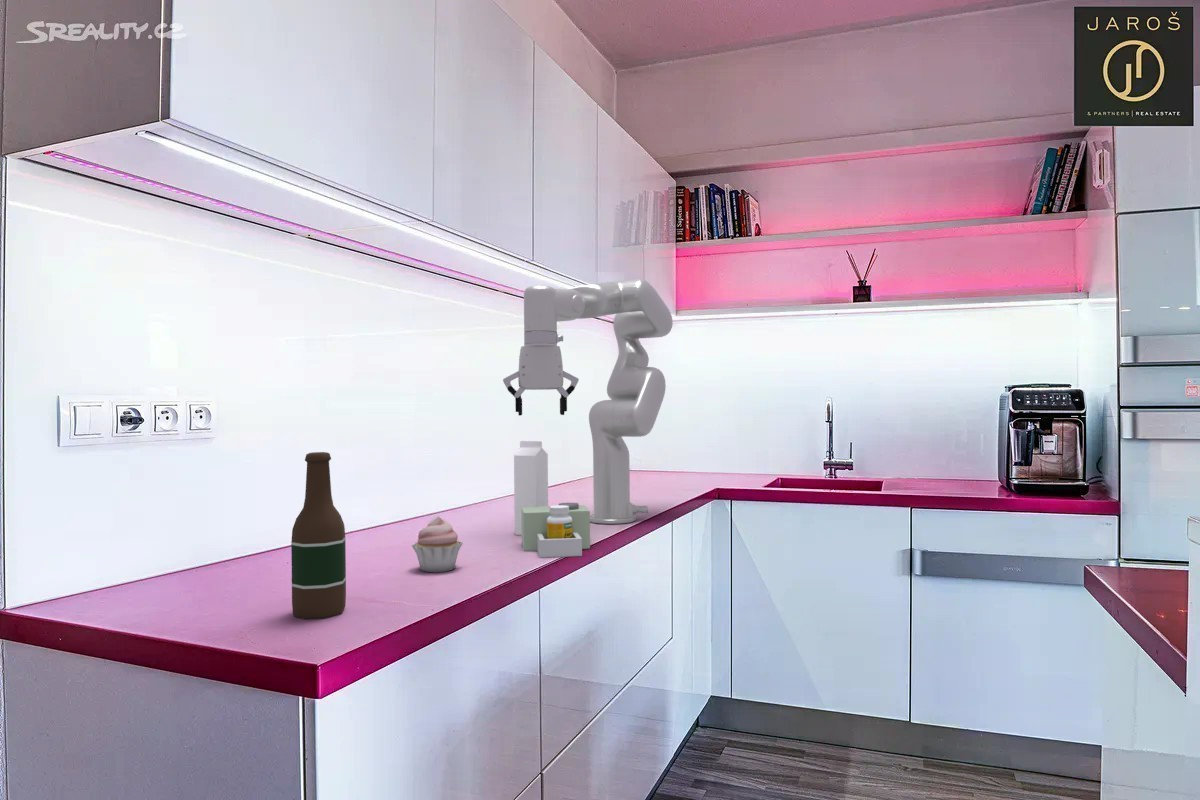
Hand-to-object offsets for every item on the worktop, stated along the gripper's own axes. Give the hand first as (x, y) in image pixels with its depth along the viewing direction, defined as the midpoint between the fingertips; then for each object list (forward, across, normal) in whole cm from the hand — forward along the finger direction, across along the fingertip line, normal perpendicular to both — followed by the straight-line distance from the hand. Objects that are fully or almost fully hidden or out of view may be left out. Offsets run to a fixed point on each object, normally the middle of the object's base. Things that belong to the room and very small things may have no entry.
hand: (541, 415), depth 174 cm
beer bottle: (+28, +38, +55) cm, 73 cm away
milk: (+28, +2, -7) cm, 29 cm away
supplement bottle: (+28, -2, +17) cm, 33 cm away
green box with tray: (+28, -2, +13) cm, 31 cm away
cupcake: (+28, +22, +28) cm, 46 cm away
